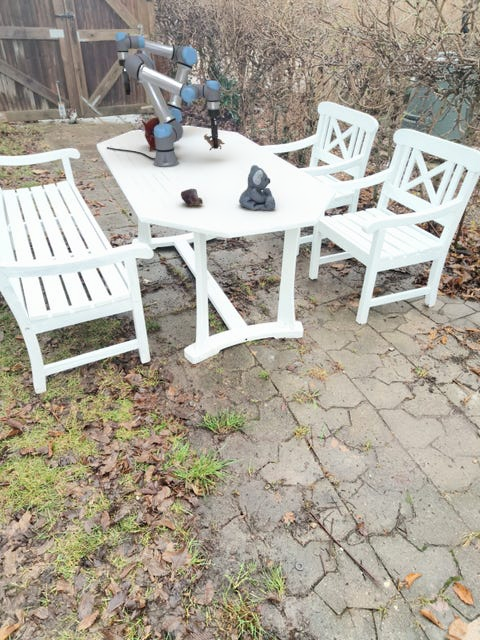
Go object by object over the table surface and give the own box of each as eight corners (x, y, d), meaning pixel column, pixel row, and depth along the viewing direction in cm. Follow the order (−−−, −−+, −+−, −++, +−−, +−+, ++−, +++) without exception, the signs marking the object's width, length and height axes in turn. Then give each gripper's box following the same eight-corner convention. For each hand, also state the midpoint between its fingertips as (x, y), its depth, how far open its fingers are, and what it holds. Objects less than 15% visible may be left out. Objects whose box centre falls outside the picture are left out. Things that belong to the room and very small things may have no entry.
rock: (196, 202, 238) (178, 205, 233) (194, 185, 234) (176, 188, 230) (205, 205, 228) (187, 208, 224) (203, 188, 224) (185, 191, 220)
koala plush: (276, 211, 223) (277, 171, 212) (240, 212, 222) (240, 172, 211) (271, 199, 237) (272, 161, 226) (237, 200, 236) (237, 162, 225)
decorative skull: (144, 123, 333) (138, 119, 309) (175, 116, 332) (171, 112, 308) (152, 153, 340) (146, 152, 316) (182, 146, 339) (179, 144, 315)
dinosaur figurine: (205, 150, 291) (204, 135, 285) (204, 148, 295) (203, 133, 290) (226, 149, 293) (225, 134, 287) (224, 147, 297) (224, 132, 292)
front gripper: (221, 111, 274) (223, 150, 287) (217, 106, 288) (218, 143, 302) (209, 111, 272) (211, 151, 286) (205, 106, 287) (207, 144, 300)
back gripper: (129, 60, 299) (133, 95, 311) (130, 57, 320) (134, 90, 332) (117, 60, 298) (122, 96, 310) (119, 57, 319) (123, 91, 331)
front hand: (215, 147), depth 294 cm, fingers closed on dinosaur figurine, 5 cm apart
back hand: (128, 93), depth 321 cm, fingers open, 13 cm apart
